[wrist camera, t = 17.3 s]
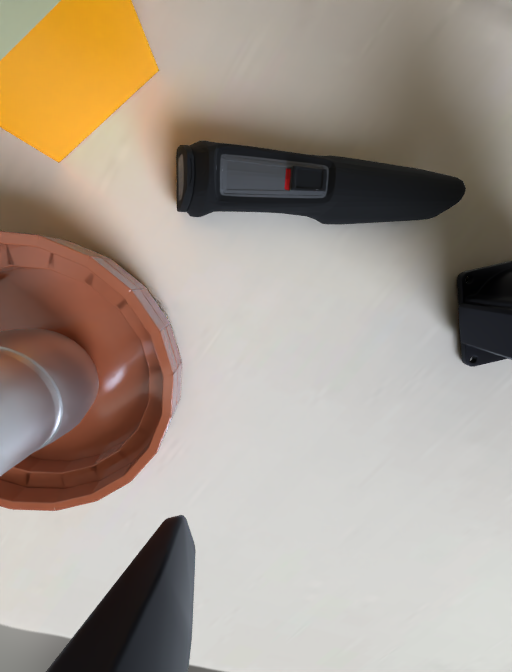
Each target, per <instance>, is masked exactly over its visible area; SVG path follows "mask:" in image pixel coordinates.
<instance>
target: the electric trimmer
mask: <svg viewBox="0 0 512 672" xmlns="http://www.w3.org/2000/svg"><path fill="white" fill-rule="evenodd" d="M176 160H177V211H179V212H187V213H188V214H189V215H190V216H192V217H201V216H204V215H206V214H209V213H211V212H215V211H236V212H271V213H285V214H293V215H301V216H308V217H310V218H313V219H315V220H317V221H319V222H321V223H322V224H355V223H374V222H393V221H412V220H423V219H429V218H433V217H435V216H437V215H439V214H440V213H442V212H444V211H446V210H447V209H449V208H451V207H452V206H454V205H455V204H457V203H458V202H459V201H460V200H461V199H462V197H463V195H464V193H465V189H466V188H465V185H464V183H463V181H462V180H460V179H459V178H456V177H452V176H448V175H444V174H440V173H435V172H431V171H426V170H421V169H416V168H410V167H403V166H397V165H390V164H384V163H378V162H371V161H365V160H358V159H352V158H345V157H337V156H318V155H306V154H299V153H292V152H285V151H278V150H272V149H265V148H258V147H250V146H242V145H234V144H224V143H214V142H209V141H199V142H196V143H194V144H192V145H190V146H187V145H180V146H179V147H178V149H177V157H176Z"/></svg>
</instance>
